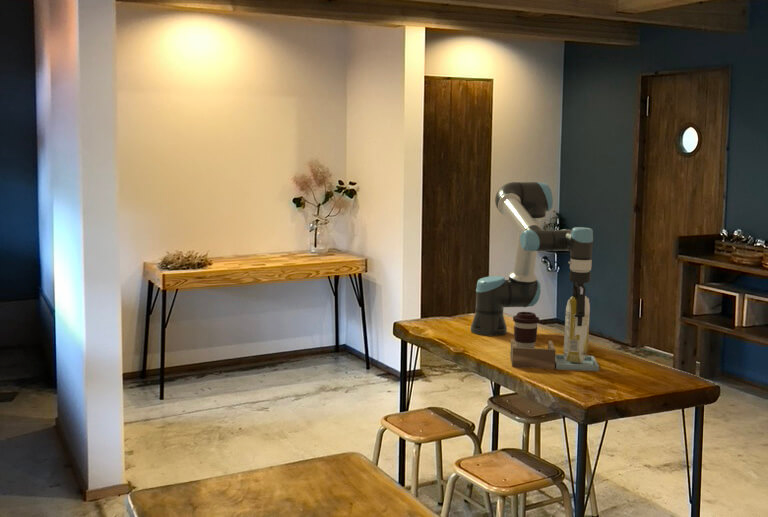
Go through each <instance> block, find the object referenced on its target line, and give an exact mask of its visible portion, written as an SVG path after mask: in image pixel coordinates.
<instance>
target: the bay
mask: <svg viewBox="0 0 768 517" xmlns="http://www.w3.org/2000/svg"><path fill="white" fill-rule="evenodd" d="M556 351H557V350H556V348H555V345H554V343H553V341H552V340H551V339H550V340H548V341H547V348H541V347H540V348H537V347H535V348H519V347H516V344H515V340H514V338H510V351H509V354H510V356H509V358H510V362H511V366H512V368H522V369H527V368H528V369H546V370H547V369H548V370H556V368H555V354H556Z"/></svg>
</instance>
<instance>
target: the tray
mask: <svg viewBox="0 0 768 517" xmlns="http://www.w3.org/2000/svg"><path fill="white" fill-rule="evenodd" d="M555 370H563V371H564V370H565V371H583V372H585V371H586V372H600V365H599V363H598V361H597V360H596V357H595V356H594V355H586V357H585V359H584V361H583V363H576V362H567V361H565V359H564V354H557V353H555Z"/></svg>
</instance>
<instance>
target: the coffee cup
mask: <svg viewBox="0 0 768 517" xmlns="http://www.w3.org/2000/svg"><path fill="white" fill-rule="evenodd" d="M512 321H513V322H514V325H513V334H514V335H513V336H514V338H513V339H514V340H515V344H516V347H519V348H536V342H537V334H538V323H540V317H539V316H537V315H536V313H534V312H531V311H518V312H517V313H516V315H513V316H512Z"/></svg>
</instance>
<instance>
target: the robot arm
mask: <svg viewBox="0 0 768 517" xmlns="http://www.w3.org/2000/svg"><path fill="white" fill-rule="evenodd" d="M494 203H495V206H496V207H495V208H496V209H497V211H498V212H499V214H501V215H504V216H506V217H507V219H508V221H509V222H510V223H511V224H512V226H513V227H514V228H515V229H516V231H517V241H516V248H515V257H514V264H513V265H514V266H513V271H511V272H510V273H509V276H508V279H505V277H504V276H501V275H496V276H495V275H493V276H491V275H489V276H485V277H482V278H481V277H480V278H479V279H478V280H477V283H476V289H475V292H476V293H475V314H474V317H473V319H472V321H471V325H470V332H471V333H473V334H475V335H479V336H487V337H488V336H491V337H492V336H503V335H506V334H507V332H508V331H507V330H508V328H507V324H506V320H505V316H504V308H528V307H533V306H535V305H537V303H538V302H539V300H540V297H541V284H540V281H539V280H538V277H537V276H536V275H535V267H536V261H537V254H538V252H546V251H547V252H551V251H555V252H556V251H557V252H558V251H563V252H565V251H566V252H570V253H569V254H570V256H569V258H570V260H568V263H567V264H569V269H570V270H569V272H568V280H569V282H572V283H573V284H572V296H573V297H575V299H576V315H574V317H576V319H575V335H583V320H584V316H585V296H586V291H587V290H586V287H585V284H587V283H588V284H589V283H590V281H591V278H592V277H591V276H592V275H591V274H592V272H591V270H592V255H593V243H594V233H593V232H594V231H593V229H592V228H590V227H583V226H578V227H577V226H575V227H573V228H571V229H569V228H568V229H567V228H564V229H560V230H558V229H556V230H555V229H553V230H552V229H550V230H549V229H542V227H541V223H542V220H543V219H545V218H546V216H547V215H546V214H547V212H549V211H551V210H552V208H553V204H554V196H553V192H552V190H551V188H550V186H549V184H548V183H546V182H538V181H527V182H526V181H525V182H524V181H522V182H519V181H518V182H517V181H516V182H515V181H514V182H513V181H511V182H508V183H505V184H503V185H502V186H501V187H500V188H498V190H497V191H496V194H495V199H494Z"/></svg>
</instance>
